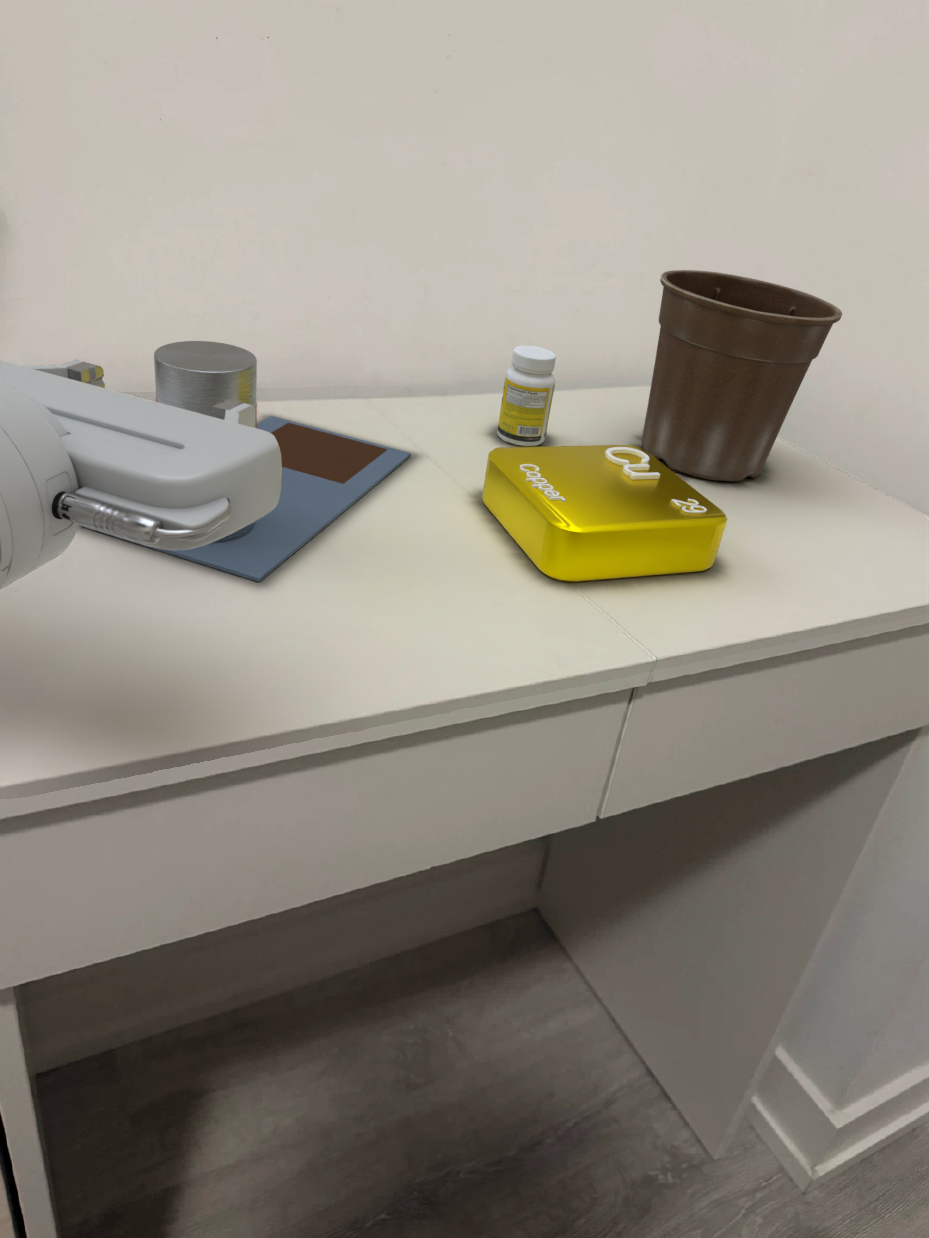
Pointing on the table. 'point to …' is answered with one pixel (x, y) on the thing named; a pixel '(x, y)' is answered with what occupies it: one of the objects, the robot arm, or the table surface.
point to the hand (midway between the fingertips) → (166, 396)
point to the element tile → (601, 512)
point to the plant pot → (728, 370)
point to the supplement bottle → (527, 396)
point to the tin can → (205, 381)
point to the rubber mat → (300, 497)
